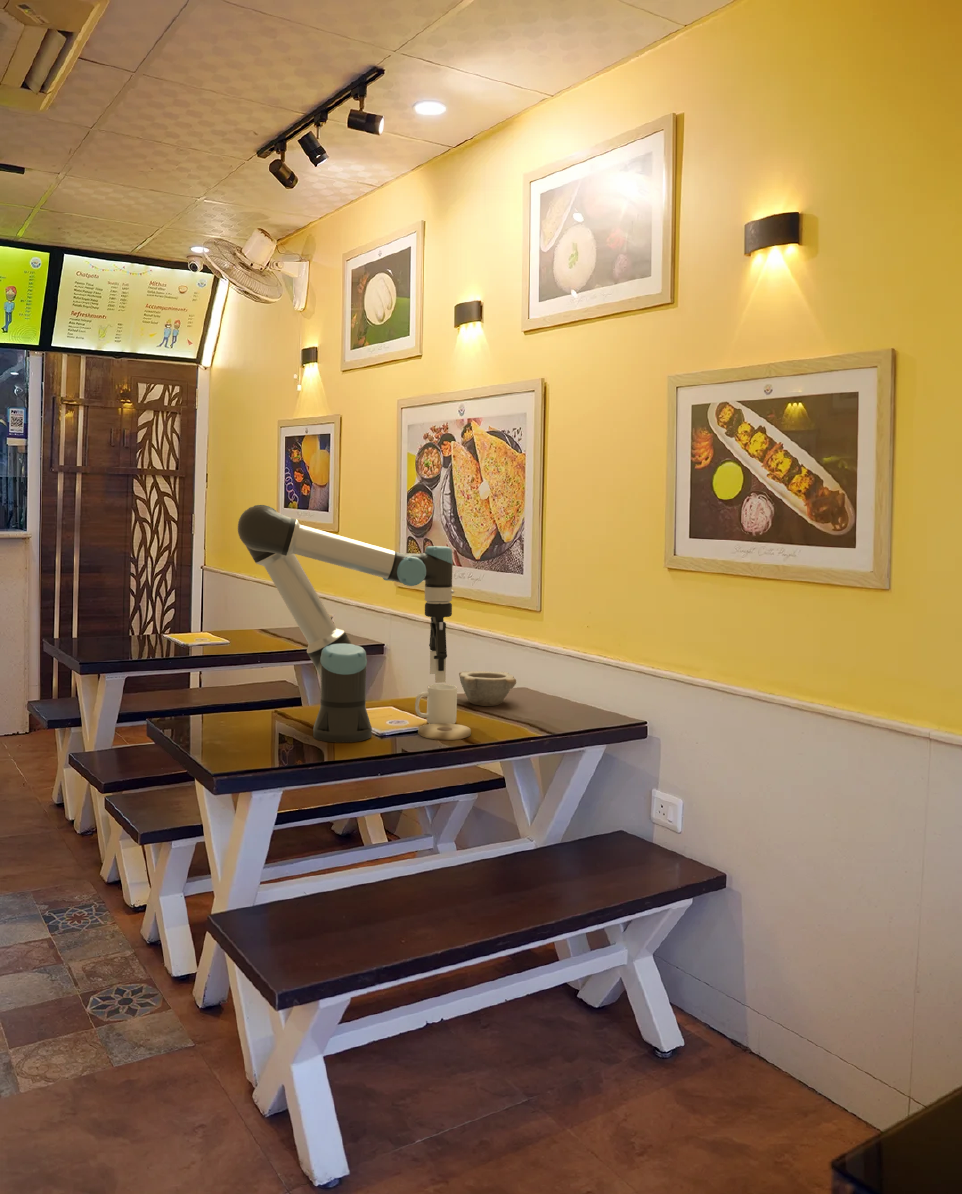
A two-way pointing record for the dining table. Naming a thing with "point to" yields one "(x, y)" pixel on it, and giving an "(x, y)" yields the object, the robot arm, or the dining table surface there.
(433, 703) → the cup
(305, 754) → the dining table surface
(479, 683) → the mortar
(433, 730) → the disc
